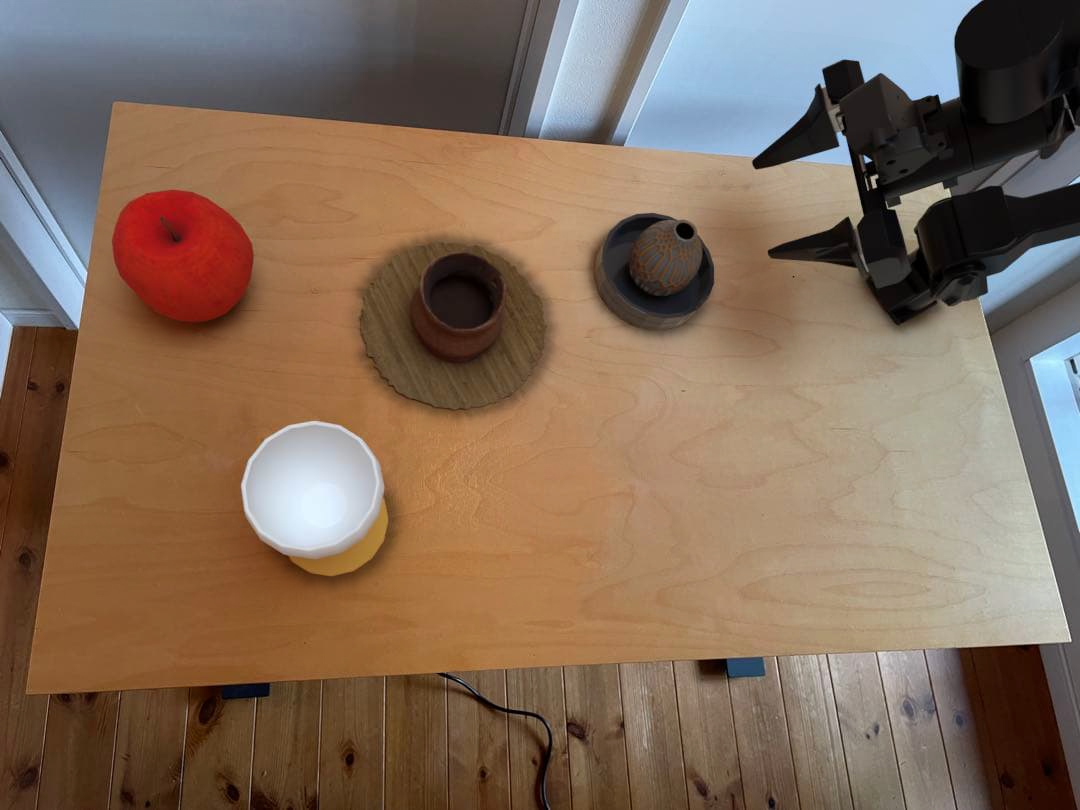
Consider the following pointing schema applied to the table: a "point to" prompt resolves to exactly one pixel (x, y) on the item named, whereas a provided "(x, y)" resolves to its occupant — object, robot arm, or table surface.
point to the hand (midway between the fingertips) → (760, 209)
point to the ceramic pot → (453, 325)
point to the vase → (665, 257)
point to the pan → (628, 296)
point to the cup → (317, 497)
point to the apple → (182, 254)
